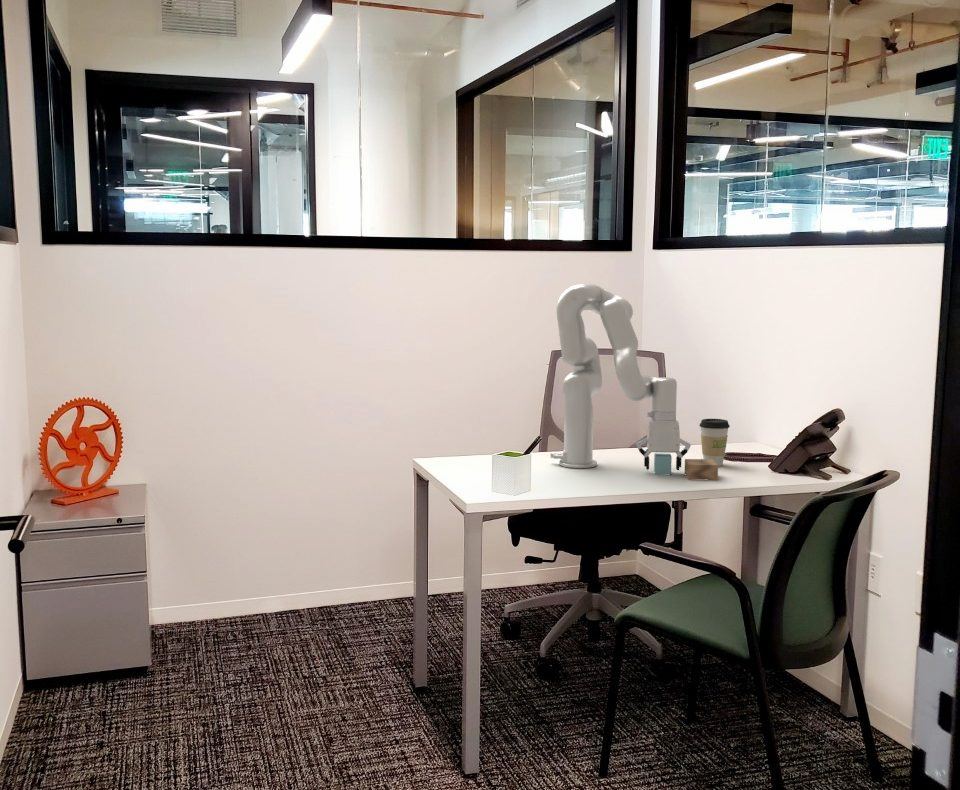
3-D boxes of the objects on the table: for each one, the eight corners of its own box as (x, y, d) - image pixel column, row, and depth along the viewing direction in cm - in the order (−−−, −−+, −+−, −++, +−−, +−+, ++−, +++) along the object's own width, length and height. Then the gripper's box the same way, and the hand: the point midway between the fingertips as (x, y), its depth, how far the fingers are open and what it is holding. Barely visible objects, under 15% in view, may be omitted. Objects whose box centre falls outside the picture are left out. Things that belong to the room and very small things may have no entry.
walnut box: (687, 480, 288) (688, 464, 287) (684, 474, 296) (684, 458, 296) (717, 481, 287) (718, 465, 286) (713, 474, 296) (713, 459, 295)
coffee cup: (729, 468, 304) (730, 423, 302) (698, 467, 306) (699, 422, 304) (727, 462, 314) (729, 418, 312) (697, 461, 316) (699, 417, 314)
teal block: (655, 474, 295) (655, 456, 294) (653, 471, 300) (654, 453, 299) (671, 475, 294) (671, 456, 293) (669, 471, 299) (670, 453, 298)
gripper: (637, 417, 292) (635, 471, 294) (692, 418, 290) (691, 472, 292) (635, 414, 299) (634, 466, 301) (690, 415, 297) (688, 467, 300)
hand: (662, 469), depth 297 cm, fingers open, 9 cm apart
